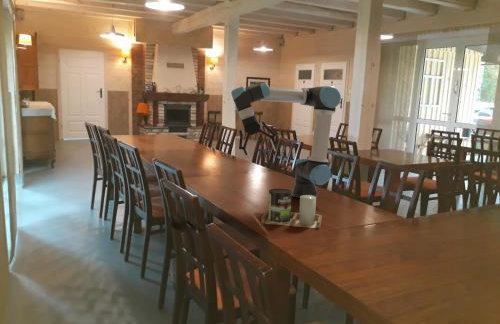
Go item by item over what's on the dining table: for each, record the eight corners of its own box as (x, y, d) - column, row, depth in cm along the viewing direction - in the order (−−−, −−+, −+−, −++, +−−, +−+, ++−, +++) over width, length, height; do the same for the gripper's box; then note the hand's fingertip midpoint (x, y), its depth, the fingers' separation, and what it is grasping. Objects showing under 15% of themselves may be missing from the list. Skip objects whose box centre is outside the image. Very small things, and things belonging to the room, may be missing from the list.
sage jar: (307, 219, 182) (308, 194, 180) (318, 223, 177) (319, 198, 174) (295, 221, 179) (296, 196, 176) (306, 226, 173) (307, 200, 171)
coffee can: (295, 222, 178) (296, 191, 176) (275, 225, 174) (276, 193, 172) (283, 216, 187) (283, 187, 186) (264, 219, 183) (264, 189, 181)
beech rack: (260, 225, 177) (261, 217, 176) (266, 217, 190) (266, 210, 189) (319, 230, 171) (320, 222, 170) (321, 222, 183) (322, 214, 183)
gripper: (224, 126, 200) (240, 165, 202) (270, 108, 197) (285, 147, 200) (226, 125, 207) (241, 163, 210) (270, 108, 205) (285, 146, 207)
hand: (263, 155), depth 205 cm, fingers open, 13 cm apart
